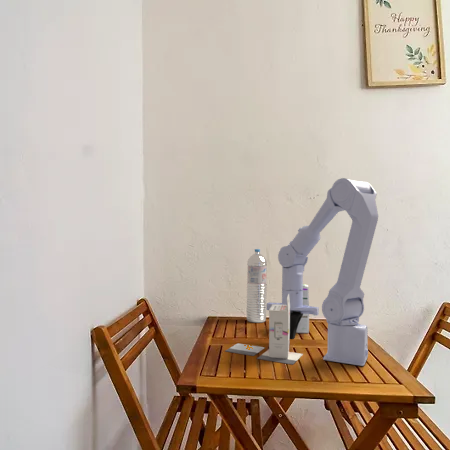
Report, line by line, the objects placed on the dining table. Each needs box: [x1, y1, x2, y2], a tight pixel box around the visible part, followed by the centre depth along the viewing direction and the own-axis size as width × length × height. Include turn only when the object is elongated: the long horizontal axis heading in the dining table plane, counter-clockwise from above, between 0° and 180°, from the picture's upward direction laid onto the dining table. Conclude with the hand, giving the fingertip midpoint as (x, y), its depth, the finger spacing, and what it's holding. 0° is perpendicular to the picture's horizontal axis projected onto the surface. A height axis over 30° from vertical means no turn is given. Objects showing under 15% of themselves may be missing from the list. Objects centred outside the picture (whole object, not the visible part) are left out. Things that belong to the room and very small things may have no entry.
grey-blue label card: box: [224, 342, 266, 357], centre depth 104 cm, size 8×8×1 cm
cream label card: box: [256, 349, 304, 366], centre depth 98 cm, size 9×9×1 cm
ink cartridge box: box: [268, 294, 290, 359], centre depth 101 cm, size 9×5×15 cm, turn 168°
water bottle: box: [246, 248, 268, 324], centre depth 138 cm, size 7×7×25 cm
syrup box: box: [296, 283, 310, 334], centre depth 125 cm, size 6×6×14 cm
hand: (291, 338), depth 110 cm, fingers closed
